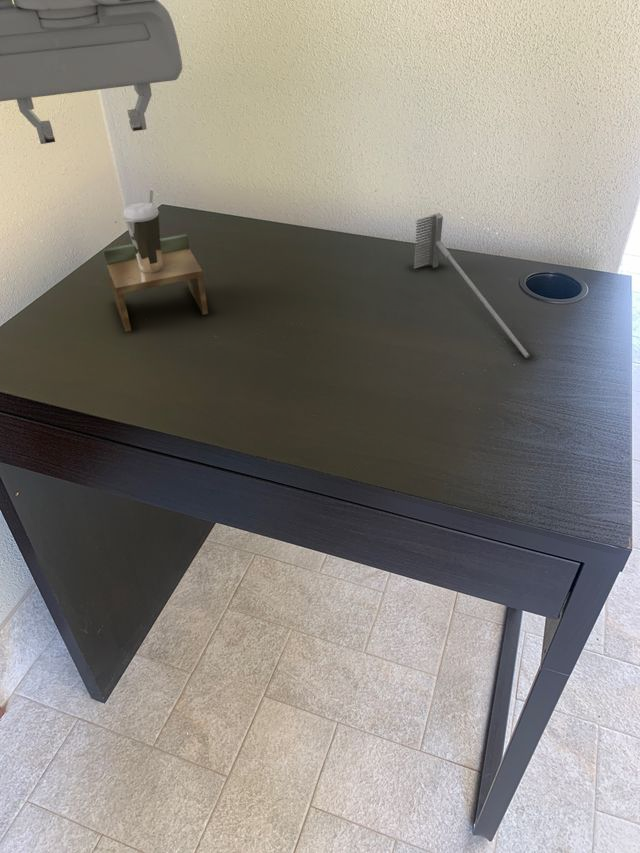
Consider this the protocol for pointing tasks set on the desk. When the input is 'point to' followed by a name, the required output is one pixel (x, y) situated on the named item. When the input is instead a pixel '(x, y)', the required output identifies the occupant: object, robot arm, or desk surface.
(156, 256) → the milkshake
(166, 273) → the bench
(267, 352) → the desk surface
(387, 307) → the desk surface
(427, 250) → the brush
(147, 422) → the desk surface
